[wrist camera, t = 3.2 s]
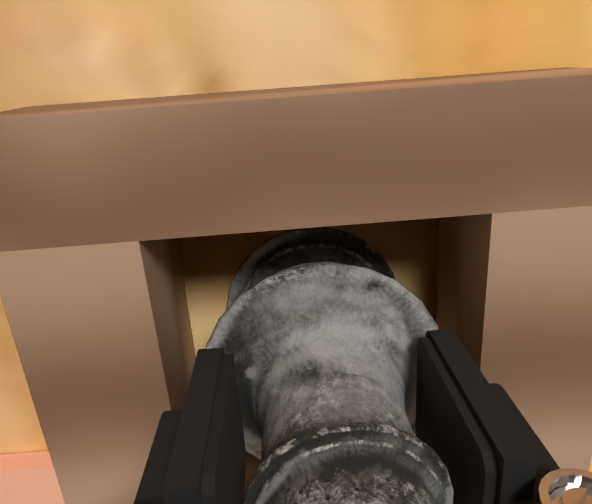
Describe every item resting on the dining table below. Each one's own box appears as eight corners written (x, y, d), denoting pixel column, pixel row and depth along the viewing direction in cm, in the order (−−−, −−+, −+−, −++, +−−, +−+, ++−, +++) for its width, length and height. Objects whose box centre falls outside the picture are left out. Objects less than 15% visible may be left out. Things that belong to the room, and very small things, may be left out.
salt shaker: (446, 312, 16) (890, 954, 4) (305, 419, 17) (373, 1134, 6) (323, 175, 14) (542, 656, 3) (176, 305, 15) (-98, 1013, 4)
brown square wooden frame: (29, 106, 13) (-54, 122, 10) (565, 67, 13) (663, 69, 10) (125, 490, 18) (91, 588, 14) (519, 455, 18) (575, 544, 15)
